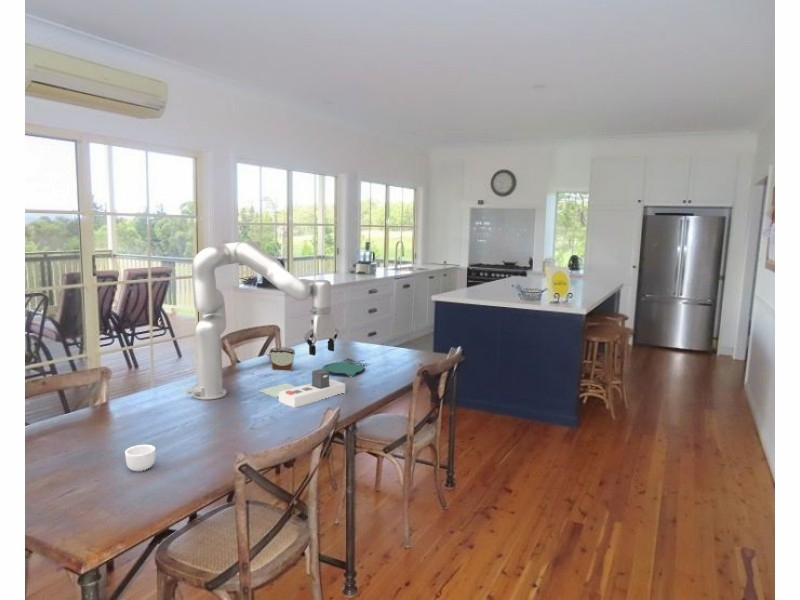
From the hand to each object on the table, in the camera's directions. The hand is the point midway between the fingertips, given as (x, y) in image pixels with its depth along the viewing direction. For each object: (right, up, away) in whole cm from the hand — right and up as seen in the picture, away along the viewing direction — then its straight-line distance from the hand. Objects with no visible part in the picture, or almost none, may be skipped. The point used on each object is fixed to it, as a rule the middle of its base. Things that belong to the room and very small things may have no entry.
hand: (321, 352), depth 221 cm
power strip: (-4, -18, 0) cm, 18 cm away
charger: (-1, -16, +2) cm, 16 cm away
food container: (-24, -12, +40) cm, 48 cm away
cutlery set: (+7, -12, +44) cm, 46 cm away
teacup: (-43, -26, -65) cm, 82 cm away
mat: (-17, -16, +6) cm, 25 cm away
